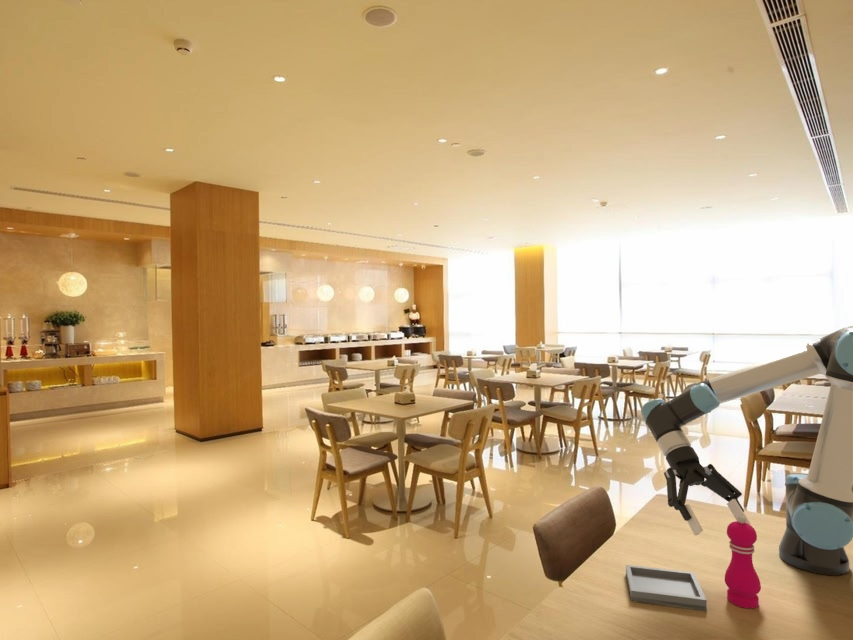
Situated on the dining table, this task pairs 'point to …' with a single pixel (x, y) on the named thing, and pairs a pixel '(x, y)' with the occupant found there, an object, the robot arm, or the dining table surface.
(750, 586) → the pepper mill
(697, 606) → the tray
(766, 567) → the dining table surface
